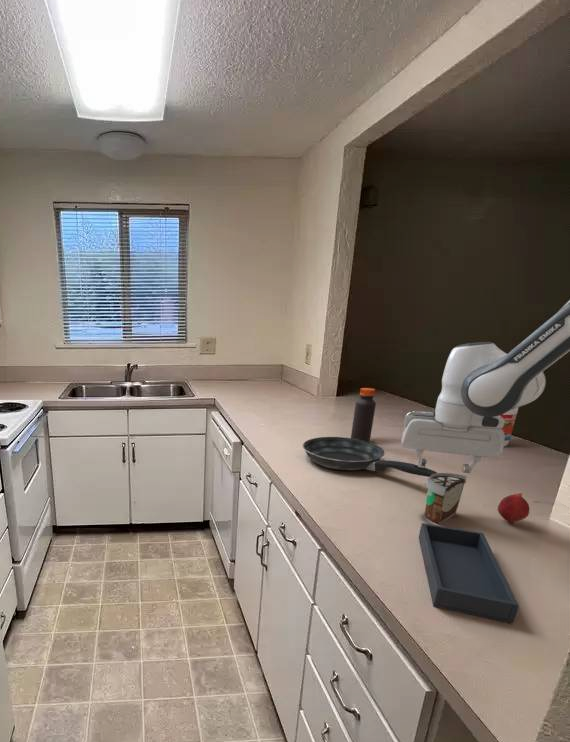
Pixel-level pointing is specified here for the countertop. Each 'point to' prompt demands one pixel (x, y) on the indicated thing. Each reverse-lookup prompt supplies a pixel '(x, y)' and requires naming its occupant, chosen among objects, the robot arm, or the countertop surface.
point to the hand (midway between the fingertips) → (443, 469)
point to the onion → (513, 508)
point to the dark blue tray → (465, 573)
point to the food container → (443, 496)
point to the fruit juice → (508, 424)
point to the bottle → (364, 415)
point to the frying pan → (355, 456)
